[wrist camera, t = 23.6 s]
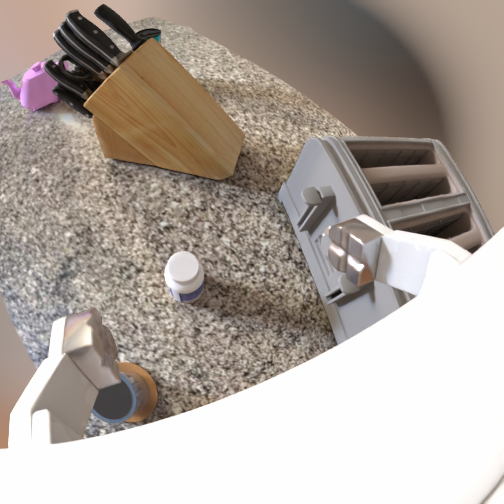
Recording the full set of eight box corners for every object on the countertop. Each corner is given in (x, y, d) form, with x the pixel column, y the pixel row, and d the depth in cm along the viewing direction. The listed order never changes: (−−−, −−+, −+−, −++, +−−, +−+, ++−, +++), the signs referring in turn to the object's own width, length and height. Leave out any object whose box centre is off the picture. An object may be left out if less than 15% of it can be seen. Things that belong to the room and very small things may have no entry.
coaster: (150, 430, 33) (150, 430, 33) (93, 408, 32) (92, 408, 32) (164, 374, 37) (164, 374, 36) (107, 353, 36) (106, 353, 36)
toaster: (256, 197, 51) (282, 126, 35) (395, 178, 61) (437, 131, 45) (318, 367, 41) (384, 361, 25) (452, 297, 51) (511, 270, 35)
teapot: (9, 128, 48) (-6, 95, 37) (18, 99, 52) (7, 68, 41) (74, 101, 54) (64, 63, 43) (77, 76, 58) (70, 42, 47)
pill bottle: (209, 279, 44) (212, 257, 36) (194, 309, 41) (193, 294, 33) (178, 264, 44) (174, 239, 36) (162, 293, 41) (154, 275, 33)
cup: (144, 418, 33) (130, 431, 25) (103, 403, 33) (80, 411, 25) (153, 378, 36) (141, 380, 28) (112, 364, 35) (91, 361, 27)
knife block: (94, 117, 53) (71, -2, 25) (243, 144, 56) (280, 3, 28) (68, 153, 48) (26, 26, 20) (230, 186, 51) (268, 25, 23)
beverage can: (163, 84, 60) (163, 34, 47) (140, 90, 58) (137, 39, 45) (158, 74, 62) (157, 26, 48) (136, 80, 60) (132, 31, 46)
